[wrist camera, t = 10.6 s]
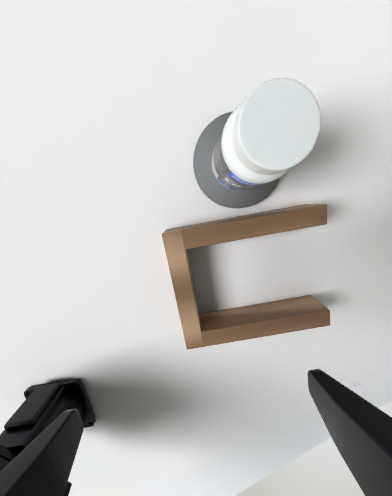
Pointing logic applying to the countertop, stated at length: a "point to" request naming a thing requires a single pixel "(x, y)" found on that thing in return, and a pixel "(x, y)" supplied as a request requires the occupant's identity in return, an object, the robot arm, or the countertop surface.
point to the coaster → (208, 179)
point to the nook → (249, 317)
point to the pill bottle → (267, 134)
